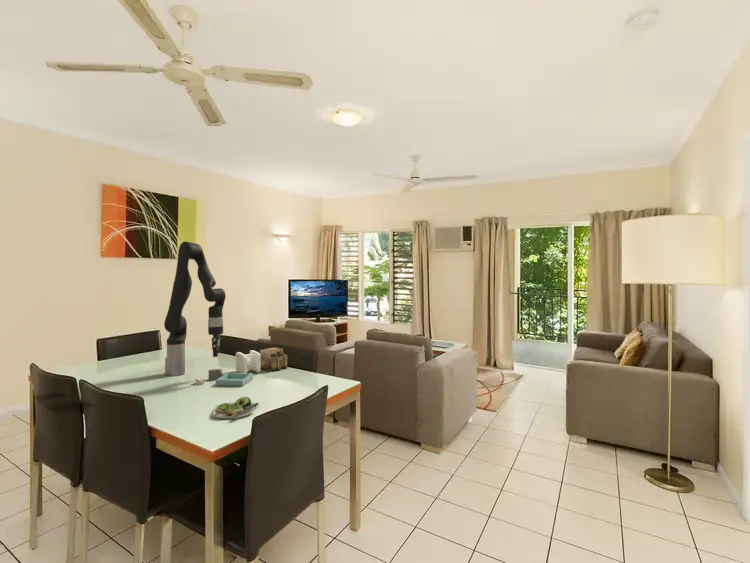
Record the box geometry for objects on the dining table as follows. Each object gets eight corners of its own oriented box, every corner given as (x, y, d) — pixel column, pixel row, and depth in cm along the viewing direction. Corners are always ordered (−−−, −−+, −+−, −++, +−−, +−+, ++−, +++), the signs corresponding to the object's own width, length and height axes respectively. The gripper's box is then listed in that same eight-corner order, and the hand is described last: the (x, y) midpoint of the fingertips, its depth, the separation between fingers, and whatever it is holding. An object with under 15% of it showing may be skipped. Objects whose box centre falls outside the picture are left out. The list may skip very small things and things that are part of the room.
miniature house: (254, 369, 233) (255, 350, 233) (272, 364, 245) (272, 346, 245) (272, 373, 225) (272, 353, 225) (290, 368, 237) (290, 349, 237)
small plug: (195, 383, 203) (195, 378, 203) (200, 382, 205) (200, 377, 205) (200, 385, 200) (200, 380, 200) (205, 384, 202) (205, 379, 202)
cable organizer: (261, 374, 223) (261, 353, 222) (243, 376, 216) (243, 356, 216) (252, 368, 235) (252, 349, 234) (234, 371, 228) (234, 351, 228)
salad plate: (255, 421, 154) (255, 409, 153) (206, 424, 150) (206, 412, 150) (259, 404, 173) (259, 394, 172) (217, 407, 169) (217, 396, 169)
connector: (208, 380, 209) (208, 371, 209) (208, 378, 212) (208, 369, 212) (225, 379, 211) (225, 370, 211) (225, 377, 214) (225, 368, 214)
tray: (215, 385, 199) (215, 379, 199) (227, 378, 213) (227, 372, 213) (242, 386, 198) (242, 380, 198) (252, 378, 212) (252, 373, 212)
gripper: (221, 326, 205) (222, 357, 205) (224, 323, 219) (224, 352, 219) (206, 327, 203) (207, 358, 203) (209, 323, 216) (210, 352, 217)
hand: (216, 355), depth 211 cm, fingers open, 8 cm apart
